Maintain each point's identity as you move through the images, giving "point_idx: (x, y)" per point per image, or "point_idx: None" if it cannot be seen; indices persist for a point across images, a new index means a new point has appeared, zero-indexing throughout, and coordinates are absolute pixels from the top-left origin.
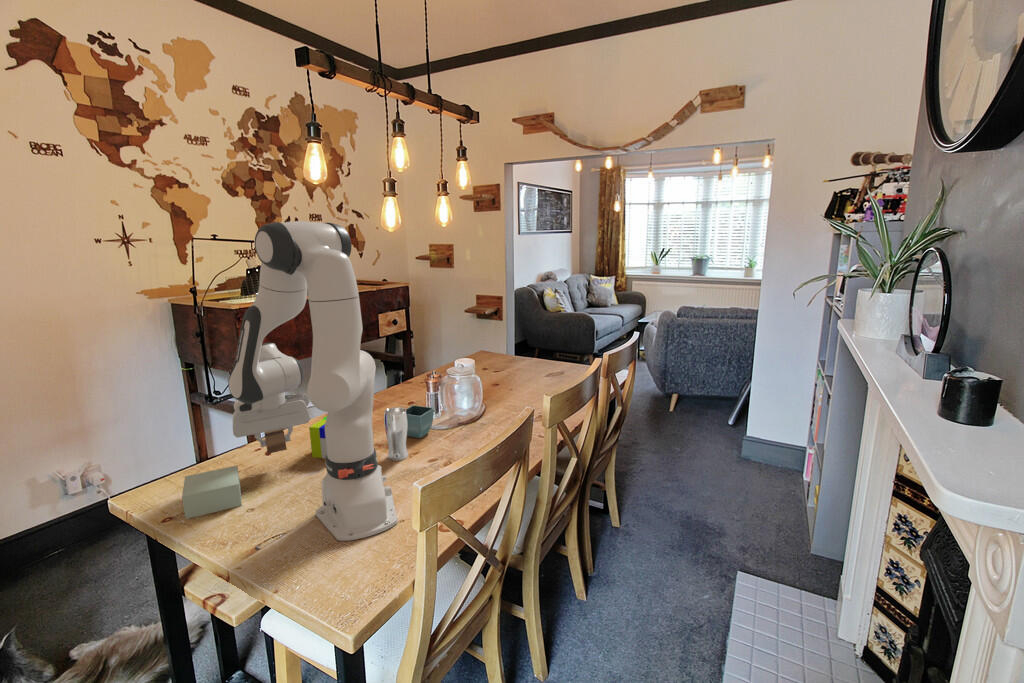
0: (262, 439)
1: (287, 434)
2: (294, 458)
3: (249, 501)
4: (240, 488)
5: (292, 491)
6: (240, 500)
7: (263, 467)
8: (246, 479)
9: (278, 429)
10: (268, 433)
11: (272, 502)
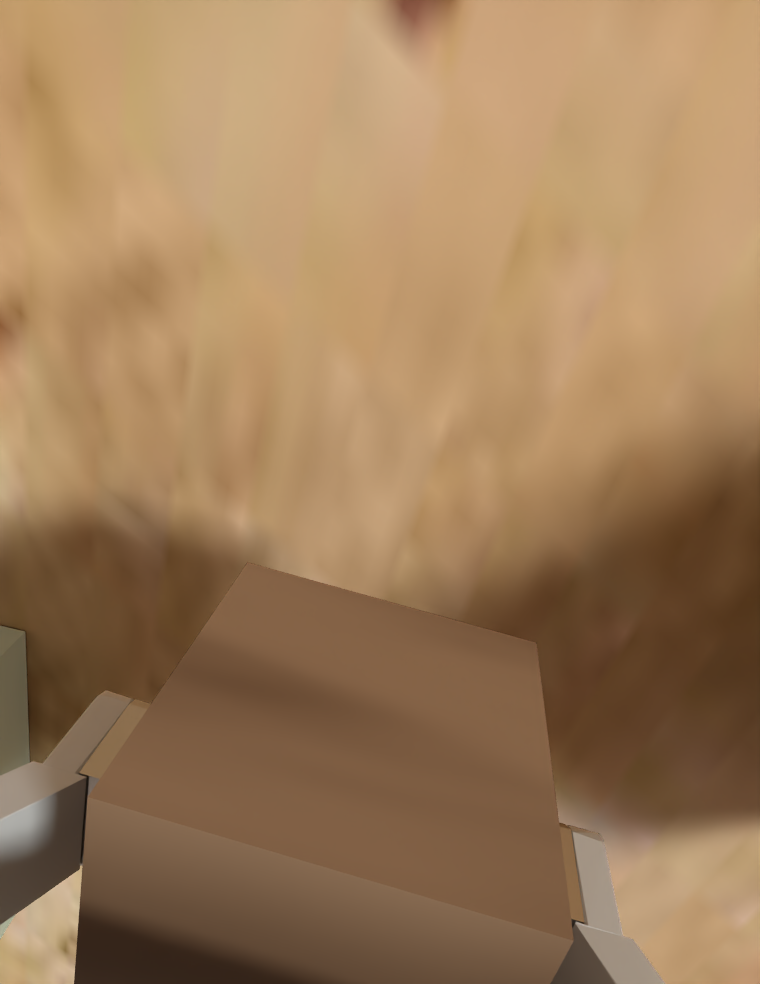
0: (91, 772)
1: (560, 978)
2: (631, 417)
3: (80, 873)
4: (24, 695)
5: None
6: (7, 922)
7: (261, 405)
8: (78, 558)
9: (440, 931)
10: (164, 952)
11: None
